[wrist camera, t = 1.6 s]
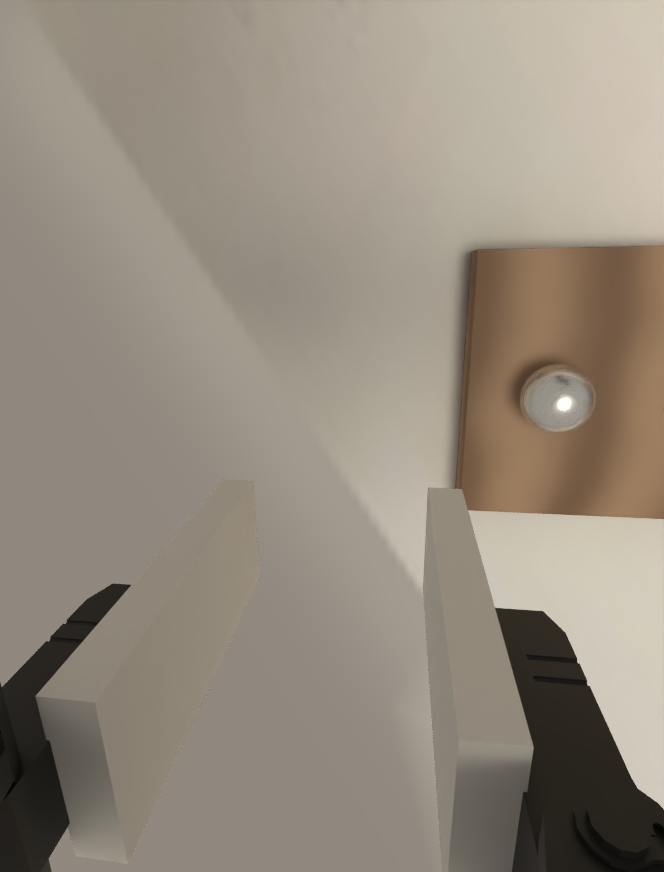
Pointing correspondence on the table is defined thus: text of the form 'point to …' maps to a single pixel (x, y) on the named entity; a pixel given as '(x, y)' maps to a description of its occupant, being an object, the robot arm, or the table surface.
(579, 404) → the ball
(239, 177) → the table surface
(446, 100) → the table surface
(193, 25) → the table surface
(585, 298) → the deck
